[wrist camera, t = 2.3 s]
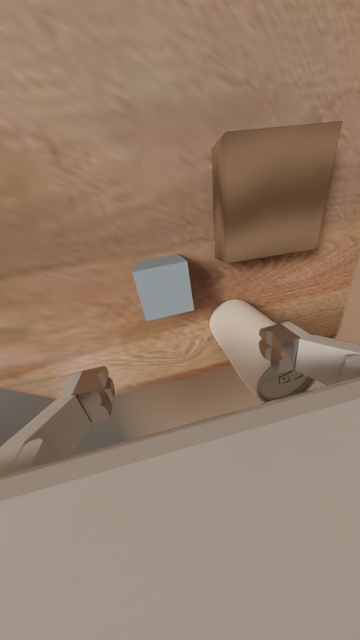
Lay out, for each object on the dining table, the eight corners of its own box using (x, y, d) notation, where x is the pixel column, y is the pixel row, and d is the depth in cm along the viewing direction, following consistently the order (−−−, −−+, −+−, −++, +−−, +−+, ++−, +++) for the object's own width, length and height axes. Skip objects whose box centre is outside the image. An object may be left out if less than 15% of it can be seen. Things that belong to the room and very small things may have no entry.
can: (202, 310, 25) (245, 371, 15) (247, 290, 25) (323, 337, 15) (215, 346, 28) (259, 418, 18) (255, 328, 28) (324, 390, 18)
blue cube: (134, 262, 21) (132, 272, 17) (177, 253, 22) (187, 260, 17) (145, 303, 24) (146, 321, 19) (184, 294, 24) (193, 310, 20)
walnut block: (210, 149, 18) (226, 131, 15) (305, 140, 19) (342, 121, 16) (214, 257, 23) (227, 263, 19) (290, 245, 24) (316, 248, 20)
